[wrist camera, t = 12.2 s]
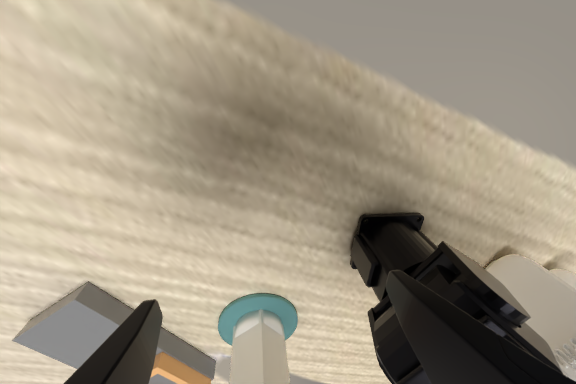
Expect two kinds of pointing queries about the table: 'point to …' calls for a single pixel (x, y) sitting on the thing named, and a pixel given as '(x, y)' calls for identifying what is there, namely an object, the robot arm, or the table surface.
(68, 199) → the table surface
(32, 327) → the framed tray with cover
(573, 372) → the cable organizer
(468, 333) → the robot arm
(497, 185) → the table surface
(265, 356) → the tall white square post
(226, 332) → the mat
